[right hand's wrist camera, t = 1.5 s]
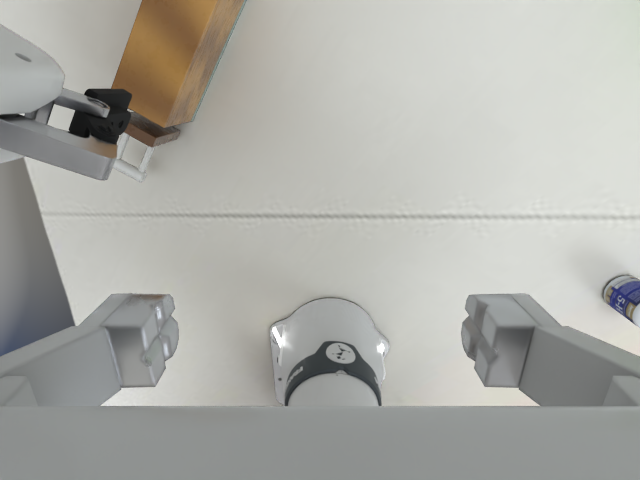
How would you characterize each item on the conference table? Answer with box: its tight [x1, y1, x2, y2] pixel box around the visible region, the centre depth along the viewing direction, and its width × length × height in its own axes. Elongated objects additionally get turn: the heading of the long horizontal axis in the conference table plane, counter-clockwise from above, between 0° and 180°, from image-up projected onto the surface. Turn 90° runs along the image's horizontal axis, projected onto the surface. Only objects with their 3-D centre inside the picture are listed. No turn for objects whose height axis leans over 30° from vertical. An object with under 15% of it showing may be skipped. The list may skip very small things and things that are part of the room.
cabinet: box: [111, 0, 246, 128], centre depth 38 cm, size 18×6×9 cm, turn 149°
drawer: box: [113, 108, 180, 182], centre depth 40 cm, size 22×5×7 cm, turn 149°
